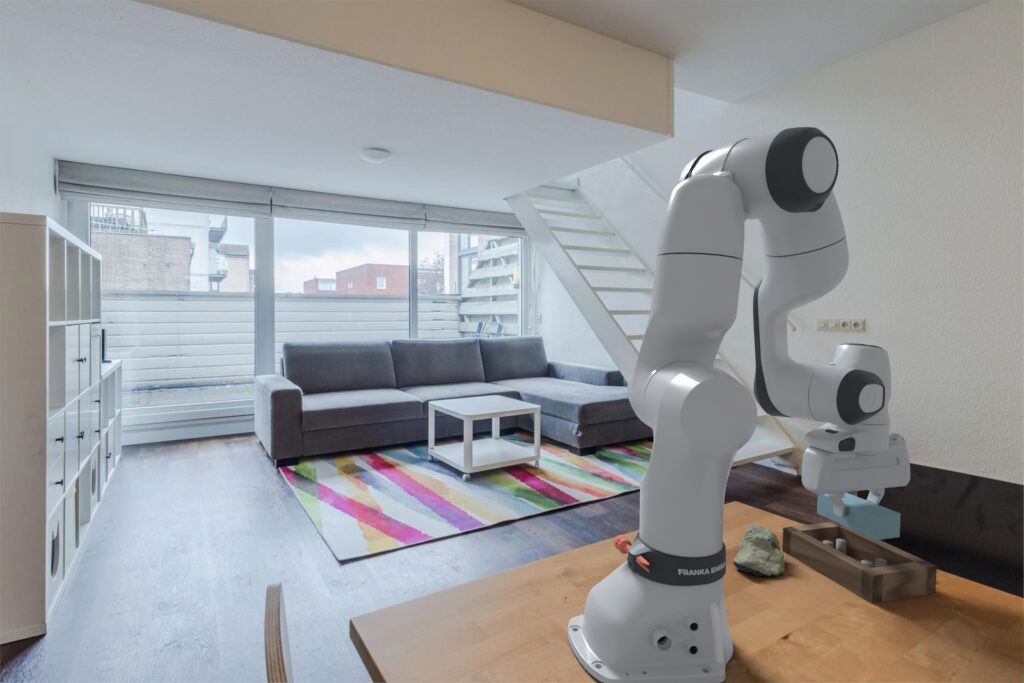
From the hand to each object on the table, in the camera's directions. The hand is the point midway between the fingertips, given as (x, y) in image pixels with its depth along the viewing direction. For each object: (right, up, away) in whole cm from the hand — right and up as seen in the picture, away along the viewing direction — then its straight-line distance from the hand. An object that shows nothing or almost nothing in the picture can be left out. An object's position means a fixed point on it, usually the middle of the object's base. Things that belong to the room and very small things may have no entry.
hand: (855, 513), depth 94 cm
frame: (0, -10, +1) cm, 10 cm away
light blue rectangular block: (0, -2, 0) cm, 2 cm away
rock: (-16, -11, +3) cm, 19 cm away
